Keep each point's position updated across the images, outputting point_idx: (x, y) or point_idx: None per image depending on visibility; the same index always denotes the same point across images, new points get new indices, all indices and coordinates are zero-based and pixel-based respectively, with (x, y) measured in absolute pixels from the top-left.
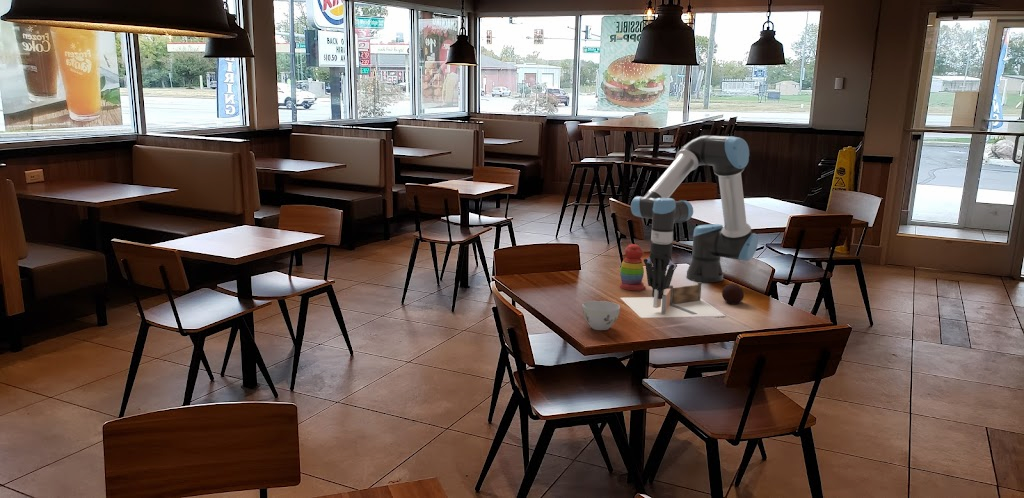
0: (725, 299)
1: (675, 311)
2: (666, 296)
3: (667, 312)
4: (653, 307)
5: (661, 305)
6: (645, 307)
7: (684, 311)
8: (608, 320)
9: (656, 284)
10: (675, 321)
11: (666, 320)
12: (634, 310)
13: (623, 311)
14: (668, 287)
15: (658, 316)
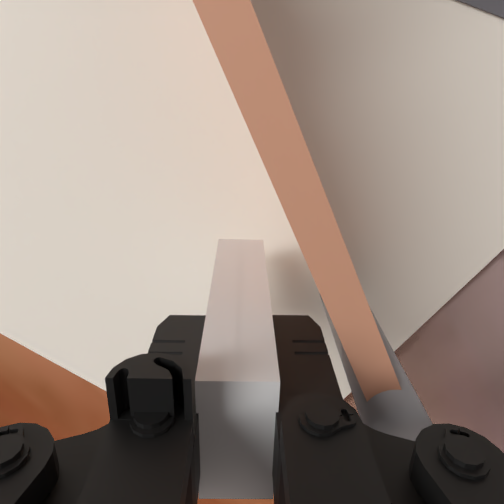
0: None
1: (388, 110)
2: (371, 315)
3: (339, 209)
4: (128, 163)
5: (127, 5)
6: (78, 227)
7: (473, 18)
8: None
9: (133, 483)
10: (493, 333)
11: (420, 361)
12: (93, 374)
13: (33, 406)
14: (499, 475)
15: (342, 369)
